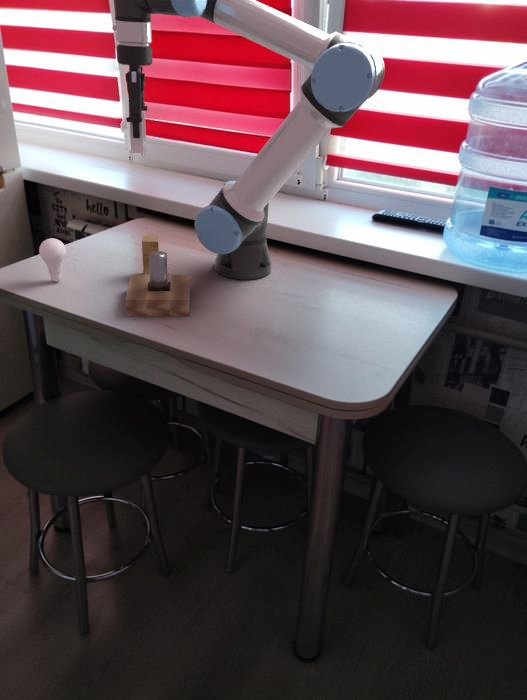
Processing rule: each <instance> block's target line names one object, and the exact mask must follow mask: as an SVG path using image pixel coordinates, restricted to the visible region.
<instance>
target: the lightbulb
mask: <svg viewBox="0 0 527 700" xmlns="http://www.w3.org/2000/svg"><path fill="white" fill-rule="evenodd" d="M38 252H39V256H40V258H41V259H42V261H43V262H44V263H45V265H46V267H47V270H48V273H49V276H50V280H51V281H53V282H54V283H58V282H60V281H61V280H62V271H63V262H64V260H65V258H66V255H67V248H66V246H65V244H64V243H63V242H62V241H61V240H59V239H57V238H53V237H51V238H47V239H45V240H43V241H42V242H41V243H40V245H39V249H38Z"/></svg>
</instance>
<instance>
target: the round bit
mask: <svg viewBox="0 0 527 700" xmlns="http://www.w3.org/2000/svg"><path fill="white" fill-rule="evenodd" d="M149 270H150V291H168V280H167V275H168V254H167V253H166V252H165V251H162V250H159V251H153V252H150V253H149Z"/></svg>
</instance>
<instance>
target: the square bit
mask: <svg viewBox="0 0 527 700" xmlns="http://www.w3.org/2000/svg"><path fill="white" fill-rule="evenodd" d="M141 250H142V251H141V254H142V270H143V274H150V270H149V253H150V252H153V251H160V236H159V235H142V238H141Z"/></svg>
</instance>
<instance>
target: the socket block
mask: <svg viewBox="0 0 527 700" xmlns="http://www.w3.org/2000/svg"><path fill="white" fill-rule="evenodd" d="M167 280H168V291H150V274H139V273H138V274H137V273H136V274H135V273H134V274H130V277H129V282H128V287H127V290H126V291H127V293H126V297H125V308H126V316H128V317H132V316H135V317H137V316H138V317H141V316H142V317H144V316H145V317H147V316H148V317H150V316H151V317H152V316H159V317H161V316H162V317H163V316H164V317H167V316H172V317H174V316H175V317H178V316H180V317H181V316H182V317H184V316H185V317H186V316H189V317H190V315H191V314H190V313H191V311H190V310H191V308H190V307H191V305H190V303H191V302H190V301H191V300H190V299H191V298H190V297H191V296H190V295H191V293H190V274H167Z"/></svg>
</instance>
